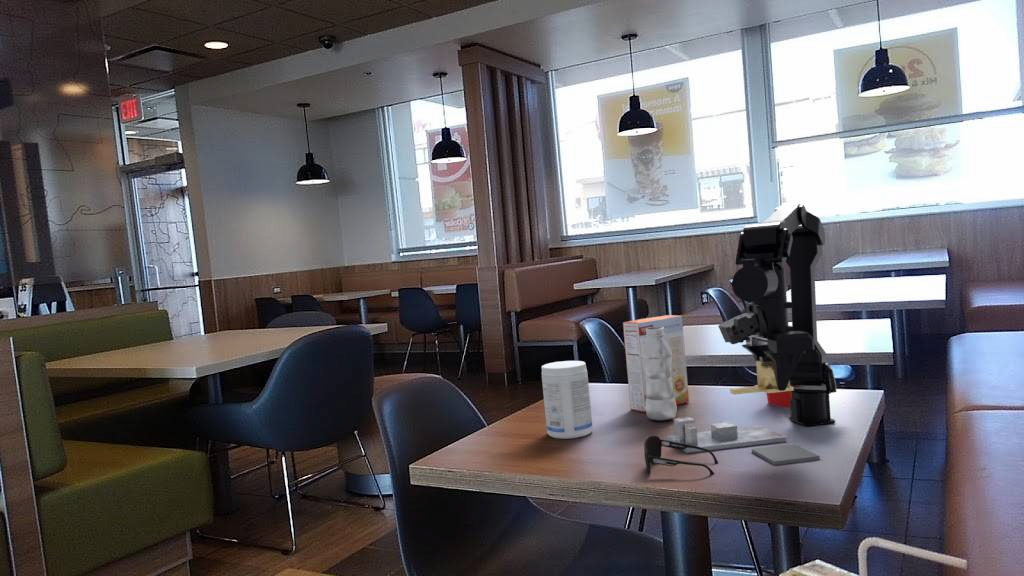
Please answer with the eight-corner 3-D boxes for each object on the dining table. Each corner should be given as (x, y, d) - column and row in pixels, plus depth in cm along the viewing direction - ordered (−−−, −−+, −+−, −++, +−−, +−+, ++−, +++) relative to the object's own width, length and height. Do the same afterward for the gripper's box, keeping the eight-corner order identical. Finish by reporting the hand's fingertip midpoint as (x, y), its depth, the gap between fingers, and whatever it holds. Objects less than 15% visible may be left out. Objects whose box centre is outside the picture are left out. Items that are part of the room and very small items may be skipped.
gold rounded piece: (780, 385, 124) (778, 352, 124) (796, 390, 119) (794, 356, 119) (725, 391, 123) (723, 358, 123) (738, 396, 118) (736, 361, 118)
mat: (794, 447, 125) (794, 444, 125) (819, 459, 118) (819, 455, 117) (751, 452, 124) (751, 449, 124) (774, 465, 117) (774, 461, 116)
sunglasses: (650, 457, 127) (651, 430, 126) (719, 469, 122) (721, 440, 122) (637, 476, 117) (638, 446, 117) (711, 489, 113) (713, 458, 112)
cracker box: (671, 399, 173) (665, 314, 172) (690, 402, 168) (683, 315, 167) (628, 409, 166) (621, 321, 165) (646, 413, 161) (639, 321, 160)
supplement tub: (589, 426, 153) (584, 358, 152) (596, 437, 143) (590, 365, 143) (544, 430, 152) (539, 362, 152) (548, 441, 143) (542, 369, 142)
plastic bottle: (678, 422, 150) (671, 328, 149) (645, 423, 151) (638, 330, 150) (677, 415, 156) (670, 325, 155) (646, 416, 157) (639, 327, 157)
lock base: (760, 429, 139) (758, 404, 139) (785, 441, 129) (784, 415, 129) (667, 439, 137) (665, 414, 137) (686, 453, 127) (684, 426, 127)
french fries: (807, 404, 157) (803, 346, 156) (797, 408, 154) (793, 348, 154) (769, 400, 164) (766, 344, 163) (759, 403, 161) (755, 346, 161)
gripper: (703, 298, 130) (709, 383, 130) (744, 303, 111) (750, 402, 111) (763, 293, 130) (768, 377, 131) (813, 297, 112) (819, 395, 112)
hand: (774, 387), depth 121 cm, fingers closed on gold rounded piece, 5 cm apart
